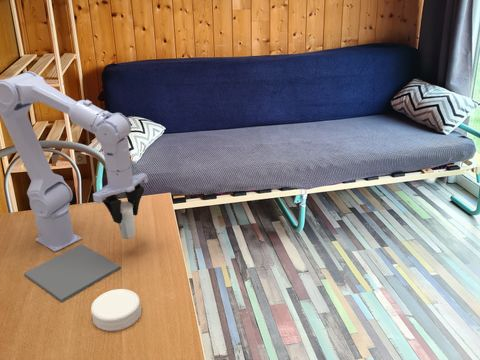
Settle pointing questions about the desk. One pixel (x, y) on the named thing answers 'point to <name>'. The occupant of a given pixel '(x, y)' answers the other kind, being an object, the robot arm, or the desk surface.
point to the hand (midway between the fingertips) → (125, 218)
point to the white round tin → (116, 310)
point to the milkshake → (127, 220)
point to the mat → (72, 272)
